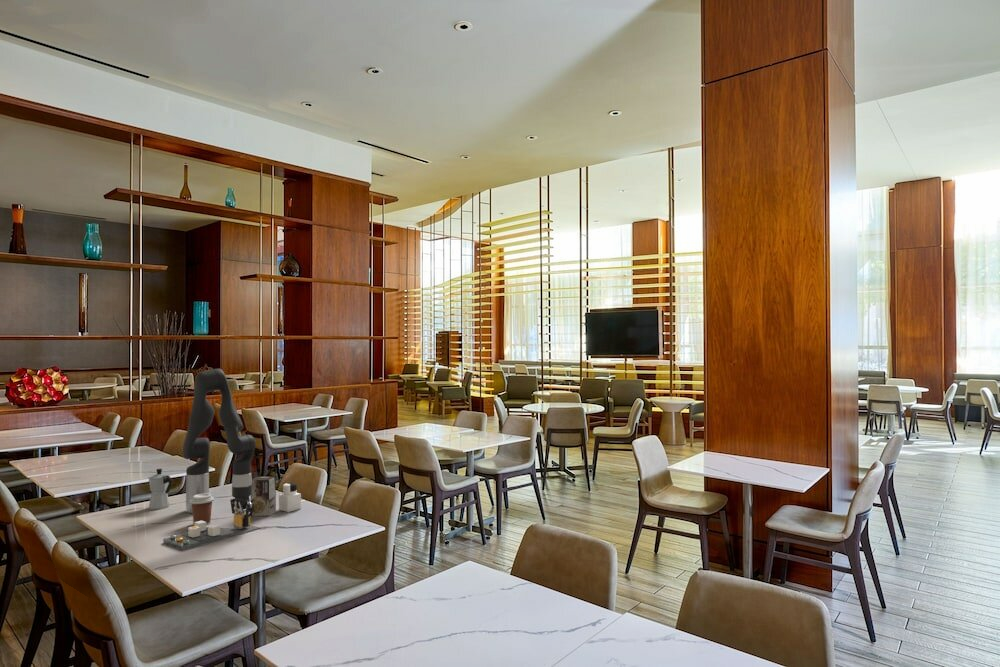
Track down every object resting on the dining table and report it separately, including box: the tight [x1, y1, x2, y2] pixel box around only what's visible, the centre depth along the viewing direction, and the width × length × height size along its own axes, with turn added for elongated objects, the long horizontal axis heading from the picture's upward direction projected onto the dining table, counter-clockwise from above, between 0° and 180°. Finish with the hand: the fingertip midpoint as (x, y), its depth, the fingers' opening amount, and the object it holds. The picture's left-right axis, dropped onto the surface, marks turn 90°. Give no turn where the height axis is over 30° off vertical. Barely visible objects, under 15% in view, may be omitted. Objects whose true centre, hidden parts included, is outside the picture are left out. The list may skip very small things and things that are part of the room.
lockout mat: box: [226, 524, 261, 536], centre depth 238 cm, size 10×10×1 cm
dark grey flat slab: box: [162, 526, 235, 551], centre depth 226 cm, size 15×20×2 cm
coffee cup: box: [190, 492, 215, 526], centre depth 246 cm, size 9×9×12 cm
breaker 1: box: [195, 520, 207, 531], centre depth 232 cm, size 4×3×3 cm
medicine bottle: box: [278, 482, 302, 513], centre depth 267 cm, size 7×7×12 cm
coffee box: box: [250, 476, 277, 517], centre depth 260 cm, size 9×6×16 cm
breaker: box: [207, 524, 220, 536], centre depth 226 cm, size 4×3×3 cm
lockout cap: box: [233, 512, 251, 529], centre depth 238 cm, size 5×5×6 cm
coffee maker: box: [147, 468, 174, 511], centre depth 272 cm, size 15×9×18 cm, turn 67°
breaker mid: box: [187, 525, 200, 538], centre depth 225 cm, size 4×3×3 cm
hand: (241, 525), depth 238 cm, fingers closed on lockout cap, 4 cm apart
